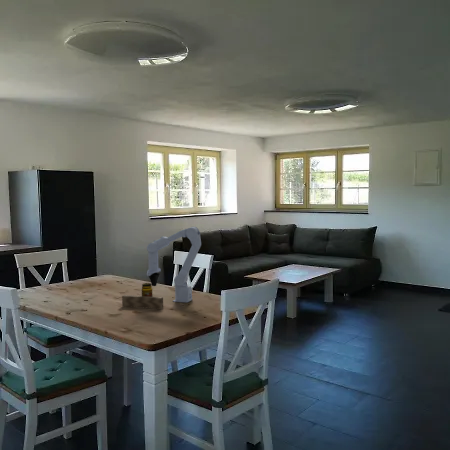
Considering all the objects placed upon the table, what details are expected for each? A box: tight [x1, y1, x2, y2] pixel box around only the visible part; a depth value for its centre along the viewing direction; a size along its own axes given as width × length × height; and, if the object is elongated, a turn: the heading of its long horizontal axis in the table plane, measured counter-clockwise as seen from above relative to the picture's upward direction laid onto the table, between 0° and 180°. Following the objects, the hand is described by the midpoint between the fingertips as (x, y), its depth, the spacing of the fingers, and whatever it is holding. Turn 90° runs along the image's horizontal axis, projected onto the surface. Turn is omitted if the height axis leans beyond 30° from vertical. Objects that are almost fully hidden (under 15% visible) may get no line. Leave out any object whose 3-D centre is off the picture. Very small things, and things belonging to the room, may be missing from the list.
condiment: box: [141, 282, 153, 297], centre depth 251 cm, size 7×8×12 cm
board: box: [121, 294, 164, 310], centre depth 245 cm, size 24×2×6 cm, turn 73°
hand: (154, 285), depth 261 cm, fingers closed
